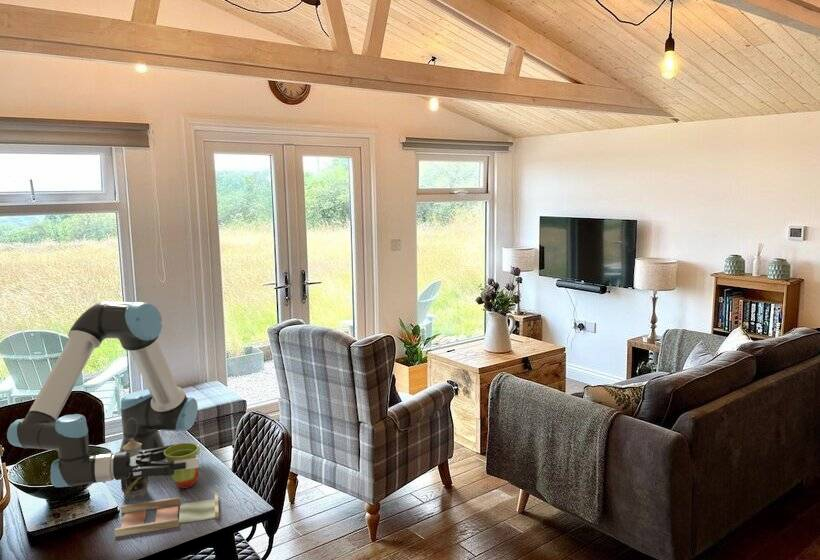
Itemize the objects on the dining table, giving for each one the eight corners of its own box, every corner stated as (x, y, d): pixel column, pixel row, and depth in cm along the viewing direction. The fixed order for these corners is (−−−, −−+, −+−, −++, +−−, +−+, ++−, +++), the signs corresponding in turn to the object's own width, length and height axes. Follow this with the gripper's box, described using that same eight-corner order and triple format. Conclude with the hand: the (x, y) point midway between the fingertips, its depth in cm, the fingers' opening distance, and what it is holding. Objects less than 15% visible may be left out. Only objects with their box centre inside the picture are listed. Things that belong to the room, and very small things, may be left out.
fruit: (205, 482, 203) (203, 459, 201) (186, 494, 195) (185, 470, 194) (186, 478, 206) (185, 455, 205) (168, 489, 199) (166, 465, 197)
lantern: (133, 487, 200) (127, 412, 196) (155, 489, 199) (150, 414, 195) (115, 500, 192) (109, 423, 188) (139, 502, 190) (133, 424, 186)
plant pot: (188, 486, 175) (186, 457, 174) (159, 483, 178) (156, 454, 176) (206, 471, 185) (204, 444, 183) (177, 469, 187) (175, 441, 185)
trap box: (121, 511, 185) (121, 505, 185) (218, 497, 193) (217, 491, 193) (115, 536, 172) (114, 530, 171) (218, 520, 180) (218, 513, 180)
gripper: (120, 463, 186) (200, 453, 192) (109, 496, 166) (198, 484, 172) (118, 439, 184) (199, 430, 191) (106, 470, 164) (197, 459, 171)
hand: (198, 455), depth 181 cm, fingers closed on plant pot, 8 cm apart
